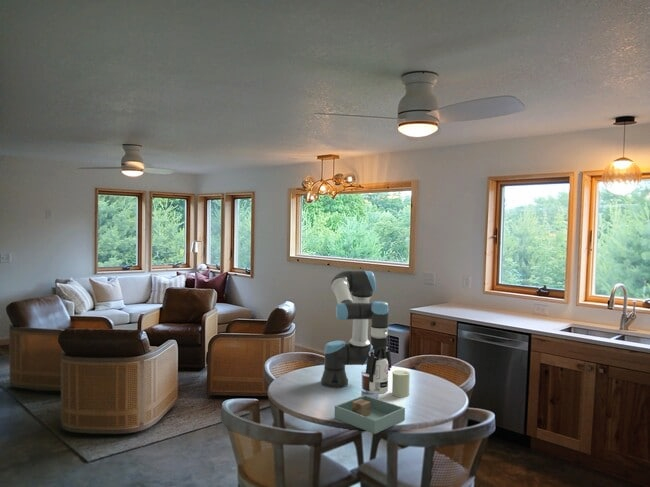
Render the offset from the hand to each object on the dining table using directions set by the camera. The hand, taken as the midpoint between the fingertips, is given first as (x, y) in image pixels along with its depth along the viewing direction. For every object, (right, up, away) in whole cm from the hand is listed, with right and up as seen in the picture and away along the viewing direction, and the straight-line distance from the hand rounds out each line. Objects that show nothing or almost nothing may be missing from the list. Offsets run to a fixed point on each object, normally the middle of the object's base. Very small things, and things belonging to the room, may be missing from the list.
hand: (378, 386), depth 215 cm
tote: (-4, -16, +4) cm, 17 cm away
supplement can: (0, -2, 0) cm, 2 cm away
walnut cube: (-7, -15, +7) cm, 18 cm away
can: (+16, -15, +38) cm, 44 cm away
